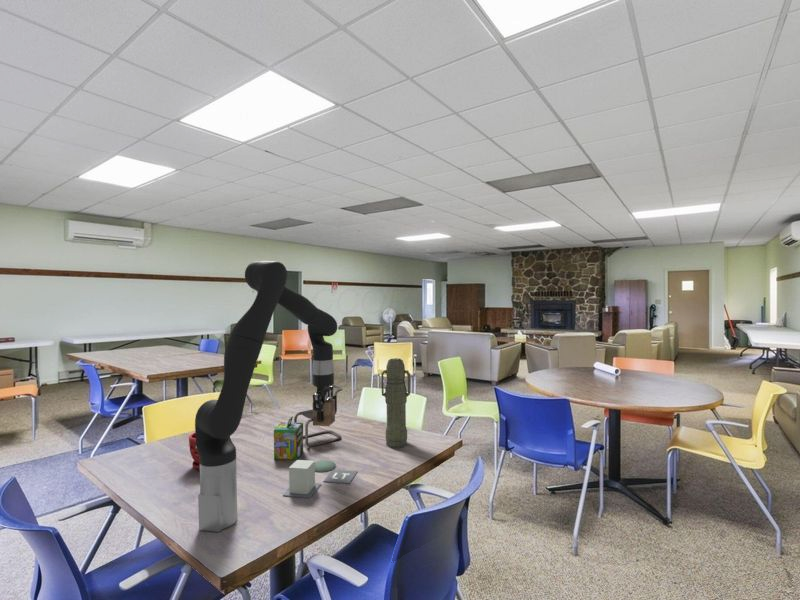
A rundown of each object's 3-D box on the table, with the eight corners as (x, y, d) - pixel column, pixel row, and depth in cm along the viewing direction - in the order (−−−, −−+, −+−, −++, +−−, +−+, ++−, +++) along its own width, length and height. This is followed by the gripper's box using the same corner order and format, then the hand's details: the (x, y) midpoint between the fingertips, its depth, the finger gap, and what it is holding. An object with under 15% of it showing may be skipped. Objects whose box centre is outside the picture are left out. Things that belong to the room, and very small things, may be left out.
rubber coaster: (330, 472, 144) (330, 471, 144) (306, 471, 146) (306, 470, 146) (339, 462, 153) (339, 461, 153) (316, 460, 155) (316, 459, 155)
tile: (349, 483, 136) (349, 482, 136) (323, 481, 138) (323, 480, 138) (357, 472, 145) (357, 471, 145) (332, 470, 146) (332, 469, 146)
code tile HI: (310, 498, 127) (310, 497, 127) (282, 495, 128) (282, 494, 128) (321, 484, 136) (321, 483, 136) (295, 482, 137) (295, 481, 137)
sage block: (307, 494, 128) (307, 468, 128) (289, 492, 130) (289, 467, 129) (315, 485, 134) (314, 460, 134) (297, 484, 135) (297, 459, 135)
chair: (344, 439, 177) (343, 388, 177) (306, 448, 167) (305, 394, 167) (330, 431, 188) (330, 382, 188) (294, 439, 178) (293, 388, 177)
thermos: (411, 447, 167) (410, 360, 166) (382, 448, 167) (381, 361, 166) (410, 439, 176) (409, 357, 175) (382, 440, 175) (381, 357, 175)
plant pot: (236, 459, 157) (235, 428, 157) (211, 474, 144) (211, 440, 144) (207, 456, 161) (206, 425, 160) (181, 470, 148) (180, 437, 148)
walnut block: (328, 426, 145) (328, 403, 145) (312, 425, 146) (312, 402, 146) (335, 421, 151) (334, 399, 151) (319, 420, 152) (319, 398, 152)
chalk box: (281, 450, 166) (280, 413, 165) (304, 450, 165) (303, 413, 165) (273, 460, 156) (272, 421, 156) (297, 460, 156) (296, 421, 156)
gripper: (325, 376, 141) (326, 425, 141) (340, 368, 155) (340, 413, 155) (304, 375, 142) (305, 424, 143) (321, 368, 156) (321, 412, 157)
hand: (324, 418), depth 149 cm, fingers closed on walnut block, 6 cm apart
